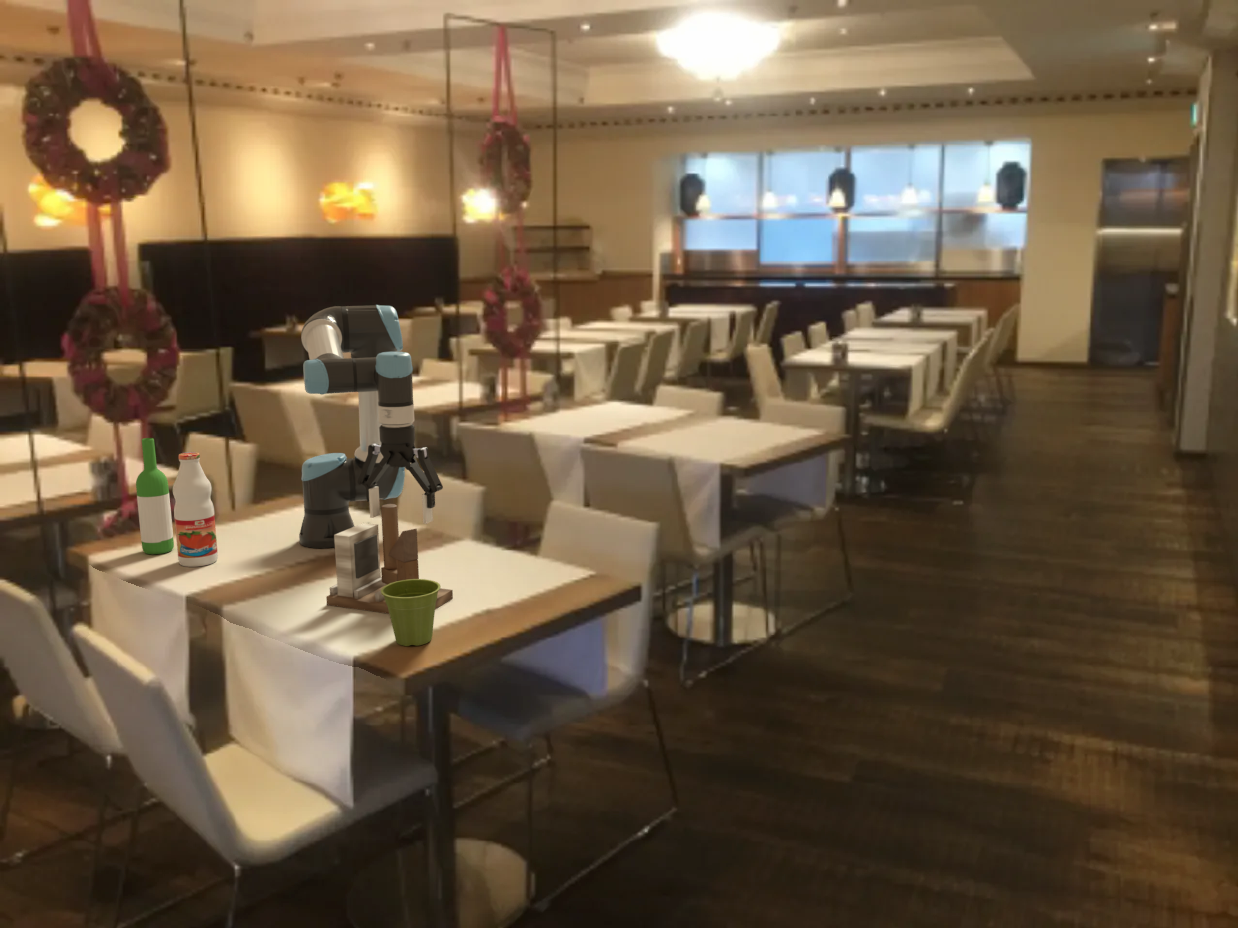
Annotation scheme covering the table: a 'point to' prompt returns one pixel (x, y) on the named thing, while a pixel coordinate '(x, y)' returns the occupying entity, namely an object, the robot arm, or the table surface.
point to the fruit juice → (194, 514)
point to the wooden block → (398, 548)
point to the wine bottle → (154, 504)
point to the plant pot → (412, 609)
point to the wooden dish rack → (363, 571)
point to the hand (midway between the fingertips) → (401, 519)
